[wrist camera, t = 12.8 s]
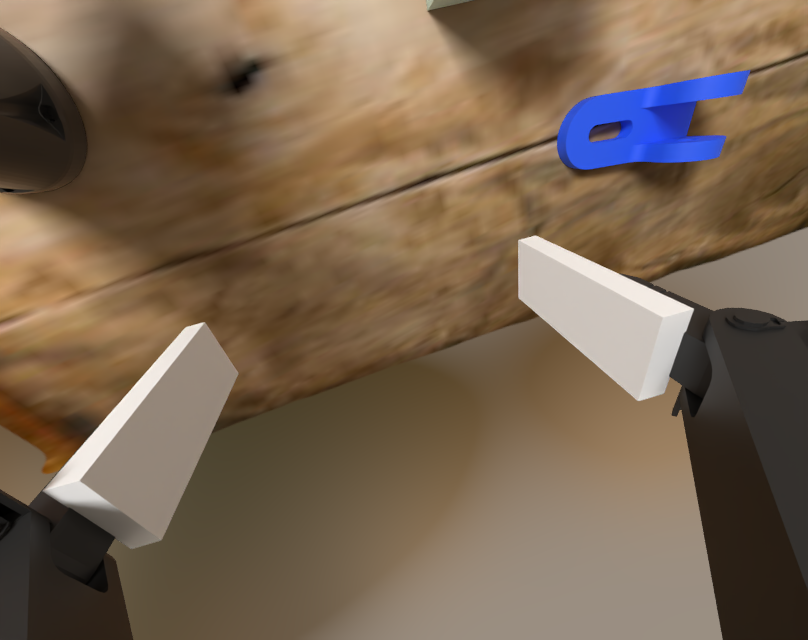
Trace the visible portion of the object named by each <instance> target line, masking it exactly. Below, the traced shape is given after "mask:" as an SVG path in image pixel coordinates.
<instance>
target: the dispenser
mask: <svg viewBox="0 0 808 640" xmlns="http://www.w3.org/2000/svg"><path fill="white" fill-rule="evenodd" d="M468 1H473V0H426V3H427V11H428V10H433V9H437V8H442V7H446V6H451V5H455V4H459V3H464V2H468Z"/></svg>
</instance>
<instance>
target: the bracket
mask: <svg viewBox="0 0 808 640" xmlns="http://www.w3.org/2000/svg"><path fill="white" fill-rule="evenodd" d="M749 73H750V70H748V71H741V72H734V73H728V74H722V75H716V76H711V77H705V78H699V79H694V80H688V81H683V82H677V83H672V84H667V85H662V86H656V87H650V88H644V89H637V90H631V91H625V92H618V93H612V94H605V95H600V96H594V97H590V98H586V99H584V100H582V101H580V102H579V103H578V104H576V105H575V106H574V107H573V108H572V109H571V110H570V111H569V113H568V114H567V115H566V117H565V119H564V120H563V122H562V125H561V127H560V130H559V133H558V139H557V149H558V154H559V156H560V159H561V160H562V162H563V163H564V164H565V165H567V166H568V167H570V168H574V169H584V170H588V169H595V168H600V167H606V166H612V165H617V164H623V163H629V162H662V163H671V162H690V161H700V160H708V159H713V158H717V157H719V156H720V153H721V150H722V147H723V144H724V142H725V139H726V136H720V135H715V136H686V135H687V132H688V129H689V126H690V122H691V119H692V116H693V112H694V109H695V106H696V102H697V101H699V100H706V99H713V98H720V97H726V96H733V95H739V94H742V92H743V89H744V87H745V84H746V81H747V78H748V75H749ZM617 121H619V122H620V123H621V131H620V133H619V135H618V136H617V137H615V138H613V139H608V140H602V141H596V142H590V141H589V133H590V130H591V129H592V128H593V127H594V126H595V125H599V124H605V123H611V122H617Z"/></svg>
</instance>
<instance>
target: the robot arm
mask: <svg viewBox="0 0 808 640" xmlns="http://www.w3.org/2000/svg"><path fill="white" fill-rule="evenodd" d="M86 150H87V143H86V135H85V130H84V126H83V123H82V120H81V117H80V115H79V112H78V110H77V108H76V106H75V104H74V102H73V100H72V98H71V97H70V95H69V93H68V92H67V90H66V89H65V87H64V86H63V85H62V83H61V82H60V81H59V79H58V78H57V77H56V76H55V74H54V73H53V72H52V71H51V70H50V69H49V67H48V66H47V65H46V64H45V63H44V62H43V61H42V60H41V59H40V58H39V57H38V56H37V55H36V54H34V53H33V52H32V51H31V50H30V49H29V48H28V47H26V46H25V45H24V44H23V43H21V42H20V41H19V40H17V39H16V38H15V37H13V36H12V35H10V34H9V33H7V32H6V31H4V30H3V29H1V28H0V192H1V193H9V194H30V193H38V192H44V191H50V190H54V189H58V188H60V187H63V186H65V185H67V184H68V183H70V182H71V181H72V180H73V179H74V178H75V177H76V176H77V175H78V174H79V172H80V171H81V169H82V167H83V165H84V162H85V158H86ZM518 285H519V299H521V300H522V301H523V302H524V303H525V304H526V305H528V306H529V307H530V308H531V309H532V310H533V311H534V312H536V313H537V314H538V315H539V316H540V317H541V318H543V319H544V320H545V321H546V322H547V323H549V324H550V325H551V326H552V327H553V328H554V329H555V330H556V331H558V332H559V333H560V334H561V335H562V336H563V337H565V338H566V339H567V340H568V341H569V342H570V343H571V344H573V345H574V346H575V347H576V348H577V349H579V350H580V351H581V352H582V353H583V354H584V355H585V356H587V357H588V358H589V359H590V360H591V361H592V362H594V363H595V364H596V365H597V366H598V367H599V368H600V369H602V370H603V371H604V372H605V373H606V374H607V375H609V376H610V377H611V378H612V379H613V380H614V381H616V382H617V383H618V384H619V385H620V386H621V387H622V388H624V389H625V390H626V391H627V392H628V393H629V394H630V395H632V396H633V397H634V398H635V399H636V400H637V401H640V400H644V399H647V398H651V397H654V396H658V395H661V394H664V392H665V389H666V387H667V384H668V381H669V378H670V377H671V378H673V379H674V380H675V381H677V382H678V383H680V384H681V385H682V387H681V390H680V392H679V395H678V397H677V400H676V403H675V405H674V408H673V411H672V416H677V415H678V412H679V410H682V415H683V421H684V427H685V432H686V438H687V443H688V448H689V454H690V460H691V465H692V471H693V477H694V482H695V487H696V493H697V499H698V504H699V510H700V515H701V521H702V526H703V532H704V538H705V543H706V548H707V554H708V560H709V565H710V571H711V577H712V582H713V587H714V593H715V598H716V604H717V610H718V615H719V621H720V627H721V632H722V638H723V640H808V321H793V322H787V321H785V320H784V319H781V318H779V317H777V316H775V315H773V314H769V313H766V312H762V311H758V310H752V309H745V308H725V309H719V310H716V311H712V310H710V309H708V308H705V307H703V306H701V305H699V304H696V303H694V302H692V301H690V300H688V299H685V298H683V297H681V296H678V295H676V294H674V293H671V292H670V291H669V292H666V290H665V289H663V288H661V287H658V286H654V285H653V284H652V283H649V282H647V281H645V280H643V279H640V278H638V277H633V276H629V275H624V274H618V273H616V272H613V271H611V270H609V269H607V268H605V267H603V266H600V265H598V264H596V263H594V262H592V261H590V260H587V259H585V258H583V257H581V256H579V255H577V254H574V253H572V252H570V251H568V250H566V249H564V248H562V247H559V246H557V245H555V244H553V243H551V242H549V241H546V240H544V239H542V238H540V237H538V236H532V237H528V238H525V239H521V240H518ZM238 374H239V373H238V372H237V370H236V369H235V367H234V366H233V364H232V363H231V361H230V360H229V358H228V356H227V355H226V353H225V352H224V350H223V349H222V347H221V346H220V344H219V343H218V341H217V340H216V338H215V337H214V335H213V334H212V332H211V331H210V329H209V328H208V326H207V325H206V323H205V322H204V323H200V324H196V325H192V326H188V327H185V329H184V330H183V331H182V332H181V333H180V334H179V335H178V337H177V338H176V339H175V340H174V341H173V342H172V343H171V345H170V346H169V347H168V348H167V349H166V350H165V351H164V353H163V354H162V355H161V356H160V357H159V358H158V359H157V361H156V362H155V363H154V364H153V365H152V366H151V367H150V369H149V370H148V371H147V372H146V373H145V374H144V375H143V377H142V378H141V379H140V380H139V381H138V382H137V383H136V385H135V386H134V387H133V388H132V389H131V390H130V391H129V393H128V394H127V395H126V396H125V397H124V398H123V399H122V401H121V402H120V403H119V404H118V405H117V406H116V407H115V409H114V410H113V411H112V412H111V413H110V414H109V415H108V417H107V418H106V419H105V420H104V421H103V422H102V423H101V424H100V425H99V426H98V427H97V428H96V429H95V430H94V432H93V433H92V434H91V435H90V436H89V437H88V438H87V440H86V441H85V443H84V444H82V445H81V446H80V448H79V449H78V450H77V451H76V452H75V453H74V455H73V457H71V458H70V459H69V460H68V461H67V462H66V464H65V465H64V466H63V467H62V468H61V469H60V470H59V471H58V473H57V474H56V475H55V476H54V477H53V478H52V479H51V481H50V482H49V483H48V484H47V485H46V486H45V487H44V489H43V490H42V491H41V492H40V493H39V494H38V495H37V497H36V498H35V499H34V500H33V501H32V502H31V503H30V505H29V506H27V505H25V504H24V503H22V502H20V501H19V500H17V499H15V498H13V497H12V496H10V495H9V494H7V493H5V492H3V491H2V490H0V640H133V636H132V632H131V628H130V623H129V618H128V614H127V609H126V605H125V600H124V596H123V591H122V587H121V582H120V578H119V573H118V569H117V564H116V561H115V559H114V558H113V557H112V556H110V555H109V554H107V553H106V552H107V551H108V549H109V547H110V546H111V544H112V542H113V540H114V539H117V540H118V541H120V542H121V543H123V544H124V545H126V546H127V547H129V548H131V549H133V548H137V547H140V546H143V545H147V544H150V543H154V542H157V541H161V540H162V538H163V536H164V534H165V531H166V529H167V527H168V524H169V523H170V521H171V518H172V516H173V514H174V512H175V510H176V507H177V505H178V503H179V501H180V499H181V497H182V495H183V492H184V490H185V488H186V486H187V484H188V482H189V479H190V477H191V475H192V473H193V471H194V469H195V466H196V464H197V462H198V460H199V458H200V456H201V454H202V452H203V449H204V447H205V445H206V443H207V440H208V439H209V436H210V434H211V432H212V430H213V428H214V426H215V423H216V421H217V419H218V417H219V415H220V413H221V410H222V408H223V406H224V404H225V402H226V400H227V398H228V395H229V393H230V391H231V389H232V387H233V385H234V382H235V380H236V378H237V376H238Z"/></svg>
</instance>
